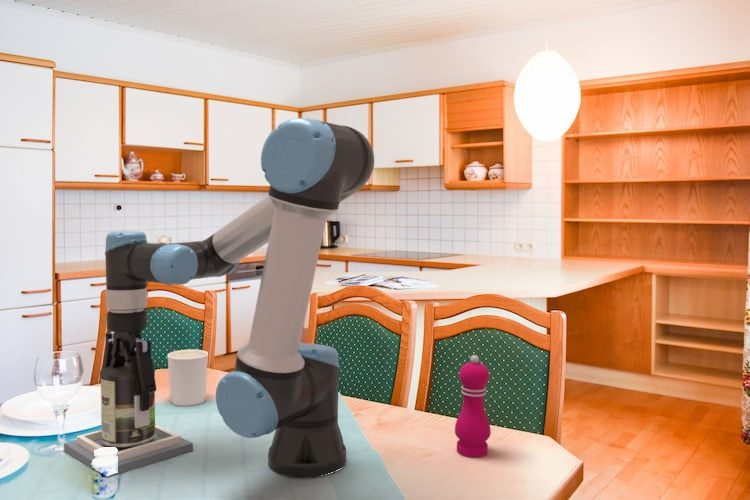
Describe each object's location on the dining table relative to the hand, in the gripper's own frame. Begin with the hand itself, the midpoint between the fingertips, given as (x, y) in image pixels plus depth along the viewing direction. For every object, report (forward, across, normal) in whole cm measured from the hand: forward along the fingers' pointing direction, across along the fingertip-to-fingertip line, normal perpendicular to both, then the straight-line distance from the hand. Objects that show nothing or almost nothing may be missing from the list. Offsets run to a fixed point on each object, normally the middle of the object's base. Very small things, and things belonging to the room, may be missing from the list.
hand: (128, 419), depth 131 cm
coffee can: (+4, 0, 0) cm, 4 cm away
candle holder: (+7, +20, -26) cm, 34 cm away
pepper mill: (+7, -50, -48) cm, 70 cm away
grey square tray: (+6, 0, 0) cm, 6 cm away
